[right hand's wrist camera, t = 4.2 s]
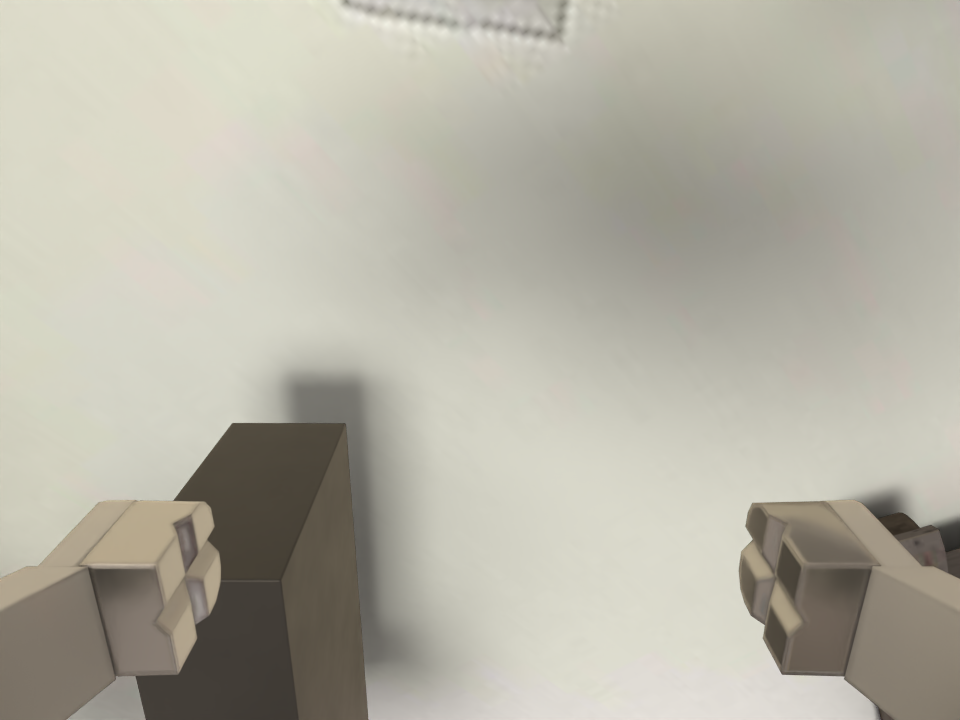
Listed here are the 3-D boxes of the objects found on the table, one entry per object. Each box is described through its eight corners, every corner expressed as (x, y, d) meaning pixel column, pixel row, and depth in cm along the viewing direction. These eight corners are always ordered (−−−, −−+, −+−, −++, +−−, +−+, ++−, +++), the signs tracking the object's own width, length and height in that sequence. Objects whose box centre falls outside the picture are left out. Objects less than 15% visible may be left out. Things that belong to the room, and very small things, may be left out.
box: (232, 422, 36) (111, 579, 24) (346, 422, 36) (280, 580, 24) (279, 757, 45) (208, 991, 33) (371, 758, 45) (332, 992, 33)
